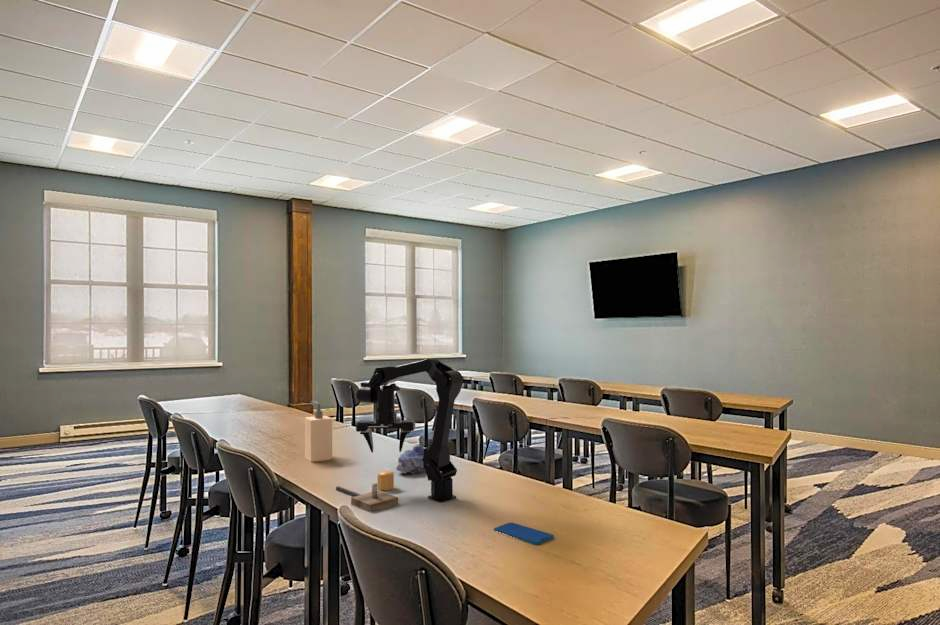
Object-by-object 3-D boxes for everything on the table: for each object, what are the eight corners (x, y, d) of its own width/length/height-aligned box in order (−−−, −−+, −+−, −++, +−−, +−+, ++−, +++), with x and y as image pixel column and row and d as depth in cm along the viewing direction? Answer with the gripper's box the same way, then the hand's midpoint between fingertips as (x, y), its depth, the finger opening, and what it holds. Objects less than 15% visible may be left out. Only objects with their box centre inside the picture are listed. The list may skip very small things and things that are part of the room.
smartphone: (510, 521, 156) (555, 535, 145) (510, 525, 156) (555, 539, 145) (491, 528, 151) (536, 543, 140) (492, 532, 151) (536, 547, 140)
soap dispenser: (332, 459, 229) (332, 403, 229) (310, 462, 225) (310, 405, 225) (322, 453, 240) (322, 400, 240) (302, 455, 236) (302, 401, 236)
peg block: (398, 504, 172) (398, 483, 173) (370, 511, 165) (370, 490, 166) (378, 496, 180) (378, 477, 180) (351, 504, 173) (351, 484, 173)
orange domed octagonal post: (396, 488, 189) (396, 472, 189) (384, 491, 185) (384, 475, 185) (387, 485, 192) (387, 470, 192) (375, 488, 189) (374, 473, 189)
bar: (366, 500, 176) (366, 496, 176) (363, 500, 176) (363, 497, 176) (338, 489, 188) (338, 486, 188) (336, 489, 187) (336, 486, 187)
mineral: (421, 441, 219) (434, 444, 210) (424, 466, 219) (438, 470, 210) (387, 451, 211) (399, 454, 202) (390, 476, 211) (403, 481, 202)
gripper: (416, 400, 197) (417, 446, 197) (362, 401, 198) (363, 447, 198) (412, 405, 186) (413, 453, 186) (355, 406, 187) (355, 454, 186)
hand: (386, 452), depth 189 cm, fingers open, 9 cm apart
